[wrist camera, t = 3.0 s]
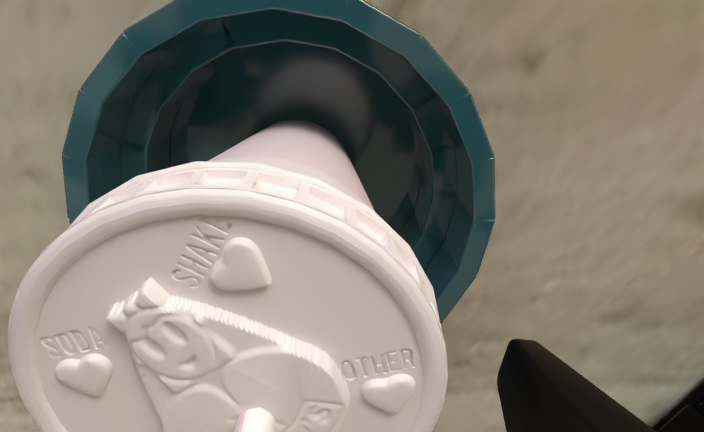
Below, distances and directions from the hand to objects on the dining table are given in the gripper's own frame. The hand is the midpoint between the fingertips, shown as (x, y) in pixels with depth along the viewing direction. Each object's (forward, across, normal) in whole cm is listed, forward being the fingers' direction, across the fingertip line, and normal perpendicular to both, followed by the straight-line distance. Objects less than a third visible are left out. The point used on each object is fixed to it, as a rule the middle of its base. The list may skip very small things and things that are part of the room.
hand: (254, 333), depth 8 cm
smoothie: (+8, 0, 0) cm, 9 cm away
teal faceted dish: (+9, 0, 0) cm, 9 cm away
